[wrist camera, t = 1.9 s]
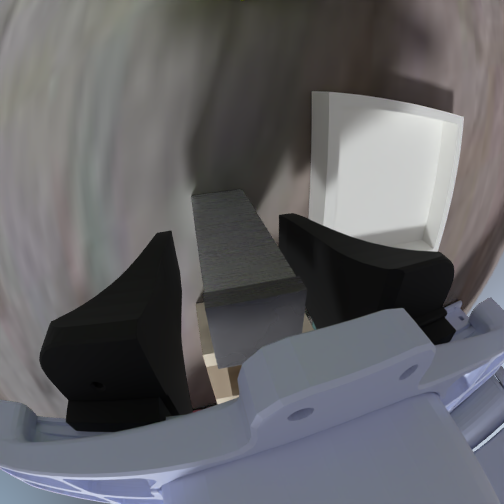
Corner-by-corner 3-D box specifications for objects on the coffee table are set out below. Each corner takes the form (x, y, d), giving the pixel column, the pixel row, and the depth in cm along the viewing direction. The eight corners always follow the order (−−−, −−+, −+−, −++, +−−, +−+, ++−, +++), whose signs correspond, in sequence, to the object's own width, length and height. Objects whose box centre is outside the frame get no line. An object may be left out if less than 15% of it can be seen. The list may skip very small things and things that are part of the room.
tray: (444, 111, 14) (463, 117, 12) (421, 242, 19) (436, 254, 18) (311, 91, 12) (329, 91, 10) (305, 266, 17) (316, 283, 16)
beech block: (290, 286, 18) (314, 331, 14) (286, 345, 21) (304, 386, 18) (195, 303, 17) (202, 354, 13) (209, 361, 20) (218, 406, 17)
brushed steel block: (242, 188, 14) (307, 289, 7) (245, 234, 15) (299, 351, 8) (190, 195, 13) (205, 308, 7) (196, 241, 15) (218, 369, 8)
